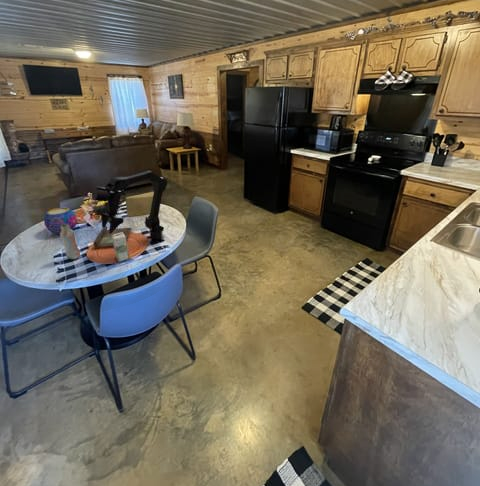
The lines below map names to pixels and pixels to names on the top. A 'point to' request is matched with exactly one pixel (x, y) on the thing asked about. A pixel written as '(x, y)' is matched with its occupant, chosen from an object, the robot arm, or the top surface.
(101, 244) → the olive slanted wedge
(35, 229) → the top surface
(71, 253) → the plastic bottle
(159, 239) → the robot arm
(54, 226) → the ceramic pot
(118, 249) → the syrup box
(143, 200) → the cheese
